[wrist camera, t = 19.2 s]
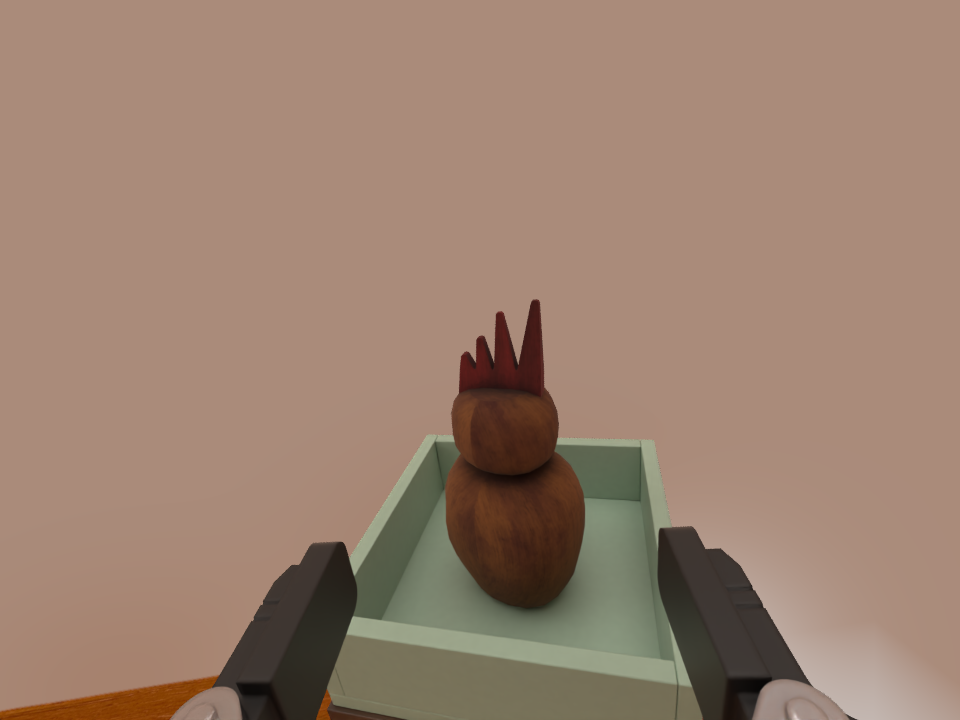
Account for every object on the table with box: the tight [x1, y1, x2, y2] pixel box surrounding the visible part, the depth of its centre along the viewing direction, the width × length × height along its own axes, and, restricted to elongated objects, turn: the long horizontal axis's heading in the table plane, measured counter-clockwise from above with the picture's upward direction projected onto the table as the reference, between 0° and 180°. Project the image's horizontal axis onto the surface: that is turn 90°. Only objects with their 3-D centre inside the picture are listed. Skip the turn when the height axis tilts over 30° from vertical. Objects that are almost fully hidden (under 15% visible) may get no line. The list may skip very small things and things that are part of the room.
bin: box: [327, 435, 702, 720], centre depth 24 cm, size 15×15×5 cm
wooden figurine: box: [445, 299, 585, 609], centre depth 21 cm, size 7×6×15 cm
